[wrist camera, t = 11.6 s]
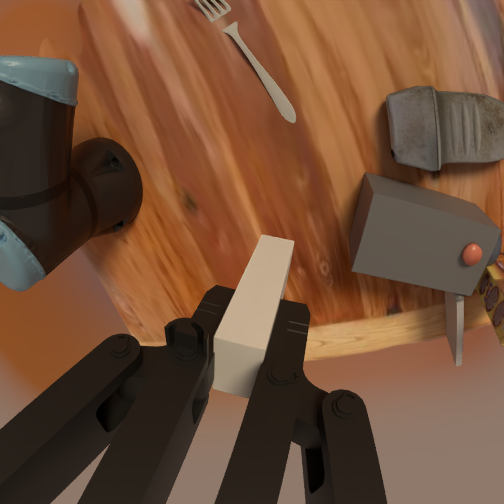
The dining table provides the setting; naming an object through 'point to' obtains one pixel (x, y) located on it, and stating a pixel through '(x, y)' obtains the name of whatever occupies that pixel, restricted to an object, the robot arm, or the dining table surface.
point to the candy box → (494, 294)
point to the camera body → (421, 236)
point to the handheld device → (444, 127)
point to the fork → (253, 62)
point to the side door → (455, 324)
